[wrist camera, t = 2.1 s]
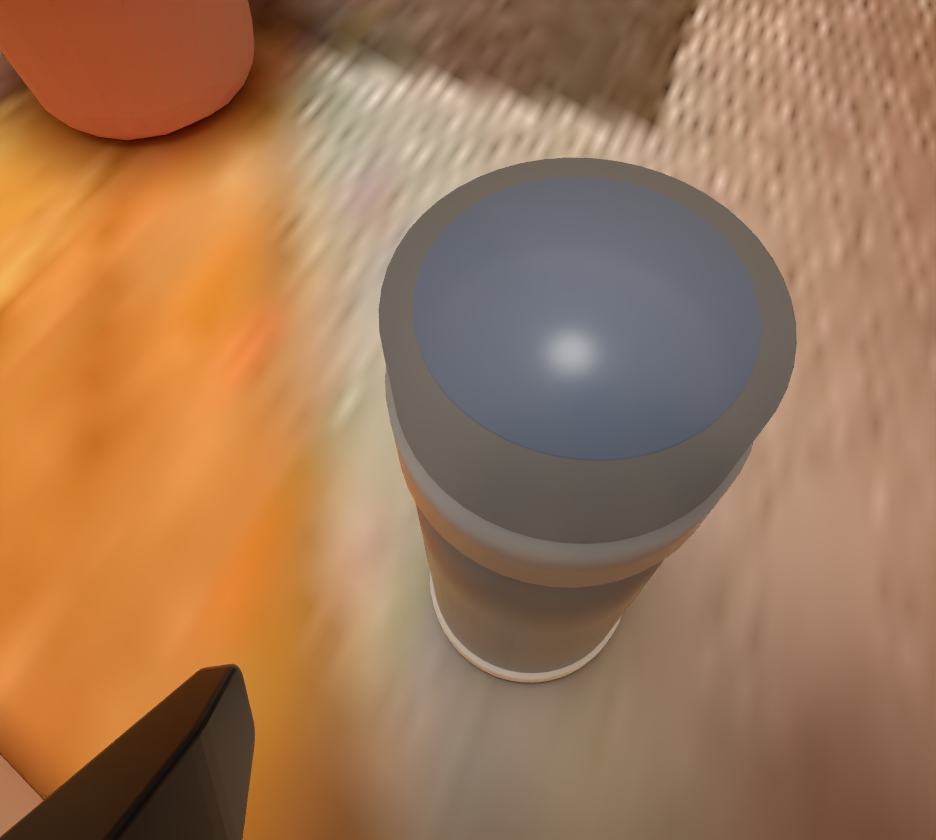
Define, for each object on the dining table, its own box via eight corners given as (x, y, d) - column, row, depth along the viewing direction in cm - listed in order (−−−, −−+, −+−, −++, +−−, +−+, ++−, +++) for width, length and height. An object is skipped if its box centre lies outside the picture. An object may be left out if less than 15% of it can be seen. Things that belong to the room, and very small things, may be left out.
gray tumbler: (653, 567, 20) (877, 263, 9) (551, 728, 18) (671, 604, 7) (502, 469, 21) (527, 99, 10) (394, 607, 19) (278, 342, 8)
